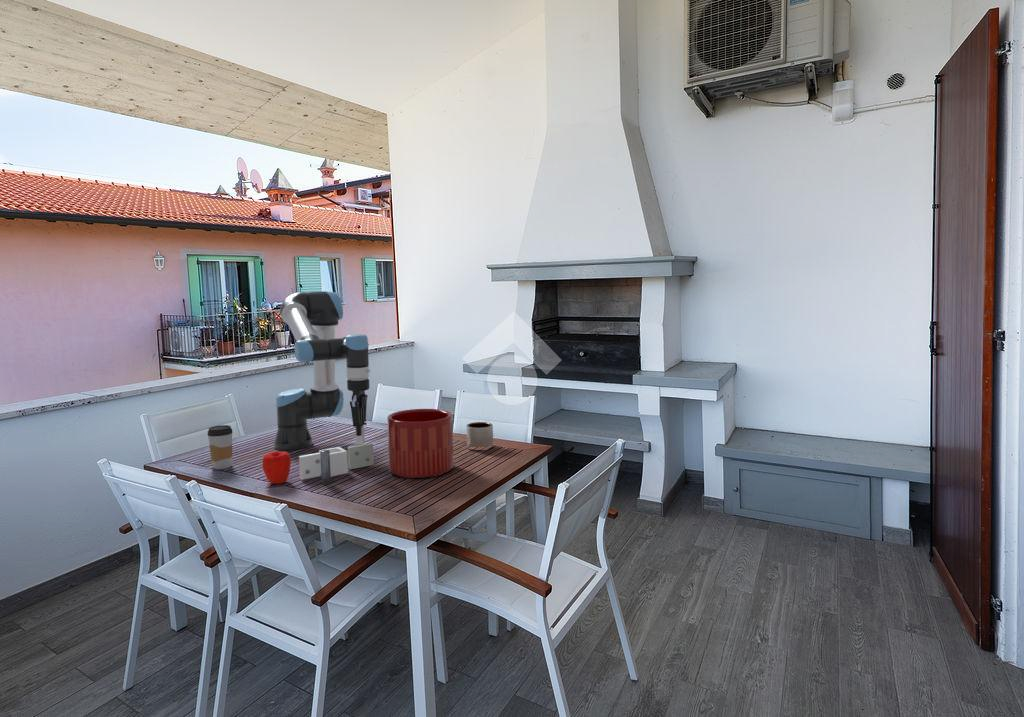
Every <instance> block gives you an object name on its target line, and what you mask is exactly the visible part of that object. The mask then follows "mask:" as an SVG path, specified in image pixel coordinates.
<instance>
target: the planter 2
mask: <svg viewBox="0 0 1024 717" xmlns="http://www.w3.org/2000/svg"><path fill="white" fill-rule="evenodd" d="M493 432H494V426H493V423H490V422H486V421H485V422H484V421H477V422H476V421H475V422H470V423H467V424H466V447H467V446H469V447H476V448H477V447H487V446H490V445H492V444H493V445H494V433H493Z"/></svg>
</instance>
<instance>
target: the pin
mask: <svg viewBox="0 0 1024 717" xmlns="http://www.w3.org/2000/svg"><path fill="white" fill-rule="evenodd" d="M320 459H321V476H320V477H321V484H322V485H327V484H331V483H332V476H331V472H330V452H329V450H324V449H321V451H320Z"/></svg>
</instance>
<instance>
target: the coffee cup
mask: <svg viewBox="0 0 1024 717" xmlns="http://www.w3.org/2000/svg"><path fill="white" fill-rule="evenodd" d="M233 432H234V431H233V429H232V427H231V425H229V424H224V425H222V424H221V425H214V426H211V427H209V428H208V431H207V437H208V443H209V444H208V445H209V453H210V459H211V464H212V467H213V470H226V469H229V468H231V467H232V465H233Z"/></svg>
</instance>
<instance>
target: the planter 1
mask: <svg viewBox="0 0 1024 717" xmlns="http://www.w3.org/2000/svg"><path fill="white" fill-rule="evenodd" d="M386 419H387V448H388V453H387V454H388V470H389V472H390V473H392V474H393V475H395V476H397V477H399V478H404V477H405V478H404V479H413V478H419V479H424V478H423V477H430V478H432V477H431V476H435V475H439V474H442V473H444V474H446V473H448V472H449V470H450V469H451V468H452V469H453V467H454V433H453V431H454V430H453V429H454V428H453V425H454V424H453V413H452V412H451V411H448V410H445V409H439V408H414V409H413V408H412V409H404V410H399V411H395V412H393V413H390V414H389V415H388V416H387V418H386ZM452 469H451V470H452ZM451 470H450V471H451ZM447 471H448V472H447ZM445 472H446V473H445ZM442 475H443V474H442ZM439 476H440V475H439ZM435 477H436V476H435Z"/></svg>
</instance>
